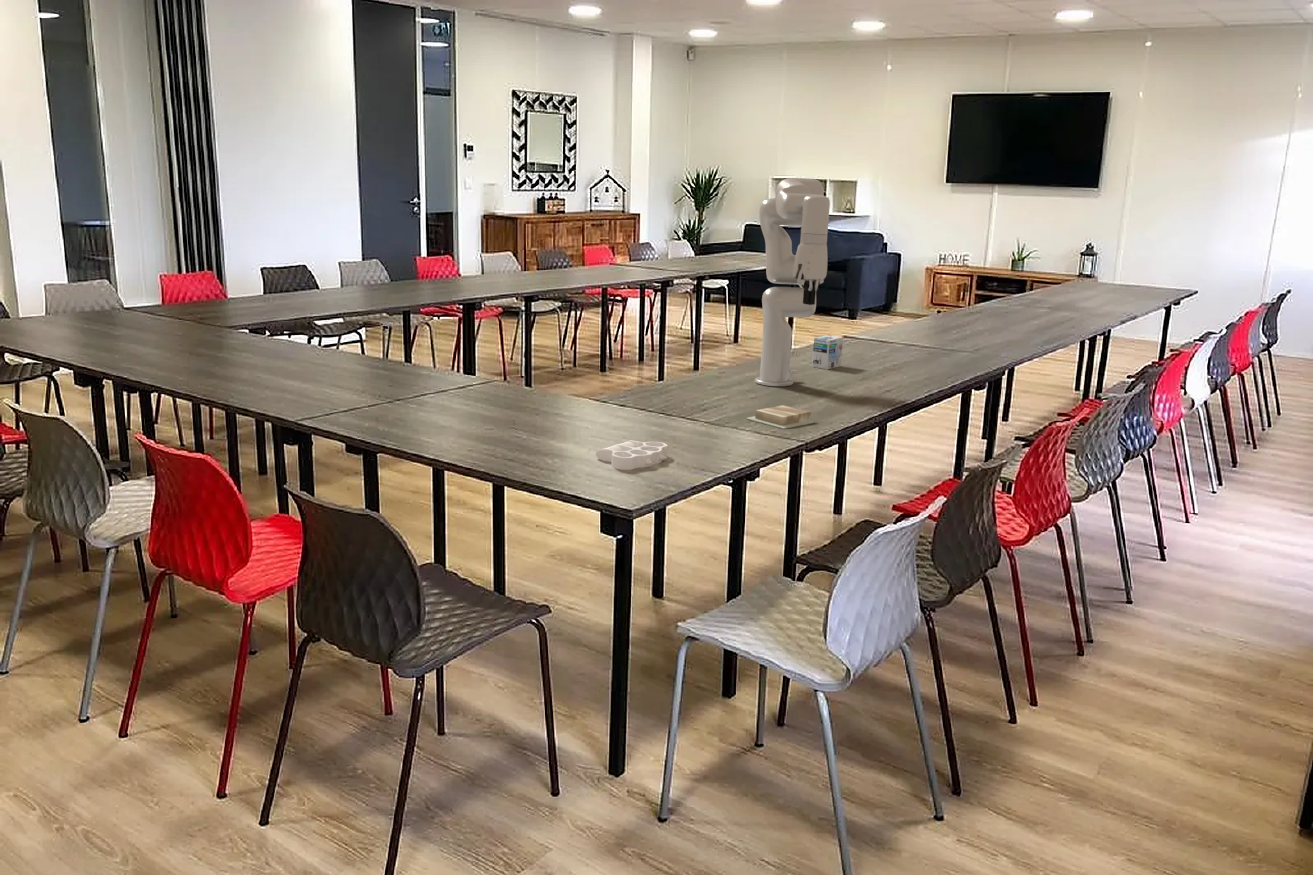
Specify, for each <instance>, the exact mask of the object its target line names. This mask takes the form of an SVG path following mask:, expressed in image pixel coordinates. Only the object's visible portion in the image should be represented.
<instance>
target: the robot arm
mask: <svg viewBox="0 0 1313 875" xmlns="http://www.w3.org/2000/svg"><path fill="white" fill-rule="evenodd" d="M775 194H776V197H773V198H772V197H771V198H768V199H765V200H763V201H762V202H761V203H760V205H759V212H758V214H759V224H760V228H761V232H762V235H763V238H764V242H765V270H766V271H765V273H766V279H767V281H769V282H770V283H772V284H779V285H798V286H799V287H791V286H773V287H769V288H767V289H766V290H765V291H764V292H763V293H762V296H761V297H762V298H761V303H762V305H761V306H762V319H763V320H762V340H761V342H762V343H761V353H760V354H761V356H760V367H759V368H760V371H759V376H755V378H754V382H755V383H756V384H758V385H760V386H761V385H762V386H768V387H788V386H789V387H790V386H792V385H793V384H794V380H793V379H792V376H797V375H798V374H799V373H798V370H797V369H791V368H790V367H791V366H790V365H791V354H792V351H791V350H792V339H793V329H792V327H791V325H790V324H789V322H787V320H786V318H809V317H811V316H813V315H814V314H815V312H816V308H817V291H818V290H819V286H820V285H821V284H823V283H824V282H825V281H824V280H825V279H826V277H827V274H828V273H827V272H828V262H829V261H828V245H827V244H828V243H827V242H828V232H829V219H830V206H831V203H830V202H831V200H830V198H829V197H828V196H825V195H824V194H825V193H824V187H823V184H822V182H821V181H820V180H818V179H816V178H805V177H804V178H803V177H802V178H801V177H787V178H784V179H782V180H781V181H780V182H779V183H778V184H777V186H776V189H775ZM782 226H801V228H800V239H799V240H800V241H799V244H798V246H797V250H796V253H795V254H793V251H792V250H793V248H792V247H793V243H792V242H793V241H792V239H791V236H790V235H789V234H788V232H787V231H786V230H785V229H784V228H783V227H782Z"/></svg>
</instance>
